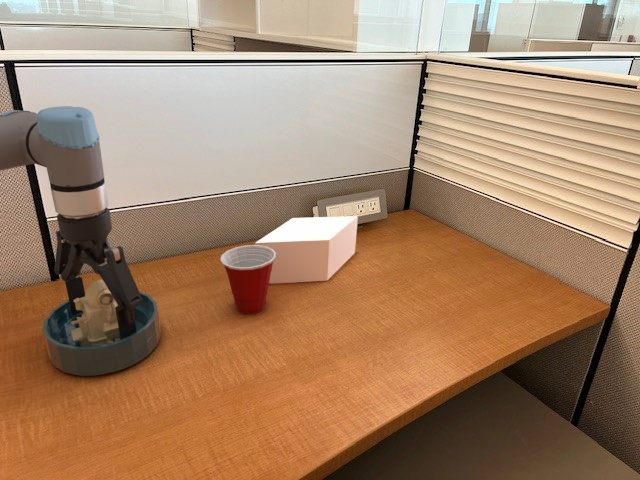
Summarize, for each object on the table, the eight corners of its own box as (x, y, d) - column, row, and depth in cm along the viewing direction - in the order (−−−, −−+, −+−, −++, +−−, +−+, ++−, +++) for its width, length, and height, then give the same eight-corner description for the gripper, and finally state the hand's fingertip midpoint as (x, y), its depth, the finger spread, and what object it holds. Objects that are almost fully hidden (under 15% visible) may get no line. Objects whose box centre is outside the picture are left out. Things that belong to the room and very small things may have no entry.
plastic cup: (245, 287, 105) (244, 237, 100) (286, 302, 100) (287, 251, 95) (211, 309, 97) (208, 257, 92) (254, 327, 92) (252, 273, 87)
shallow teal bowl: (27, 351, 83) (19, 323, 80) (117, 304, 97) (112, 278, 94) (94, 394, 74) (88, 363, 72) (181, 335, 89) (179, 308, 86)
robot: (79, 363, 80) (62, 286, 73) (71, 337, 86) (55, 264, 79) (143, 343, 85) (133, 269, 79) (131, 320, 91) (121, 250, 85)
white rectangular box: (240, 271, 112) (238, 230, 107) (337, 242, 128) (339, 206, 123) (273, 299, 101) (273, 256, 97) (374, 264, 117) (378, 226, 113)
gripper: (157, 221, 72) (169, 337, 81) (58, 187, 83) (79, 292, 92) (114, 238, 66) (133, 361, 75) (14, 199, 77) (41, 310, 87)
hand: (103, 323), depth 84 cm, fingers open, 12 cm apart
